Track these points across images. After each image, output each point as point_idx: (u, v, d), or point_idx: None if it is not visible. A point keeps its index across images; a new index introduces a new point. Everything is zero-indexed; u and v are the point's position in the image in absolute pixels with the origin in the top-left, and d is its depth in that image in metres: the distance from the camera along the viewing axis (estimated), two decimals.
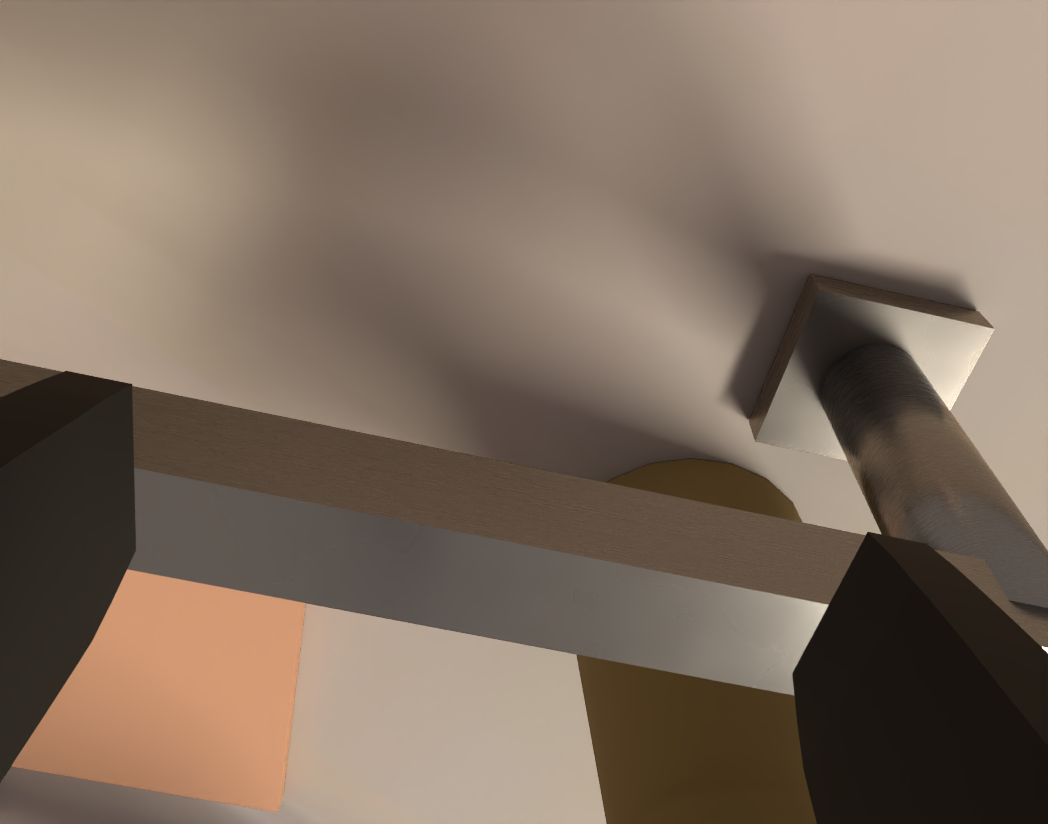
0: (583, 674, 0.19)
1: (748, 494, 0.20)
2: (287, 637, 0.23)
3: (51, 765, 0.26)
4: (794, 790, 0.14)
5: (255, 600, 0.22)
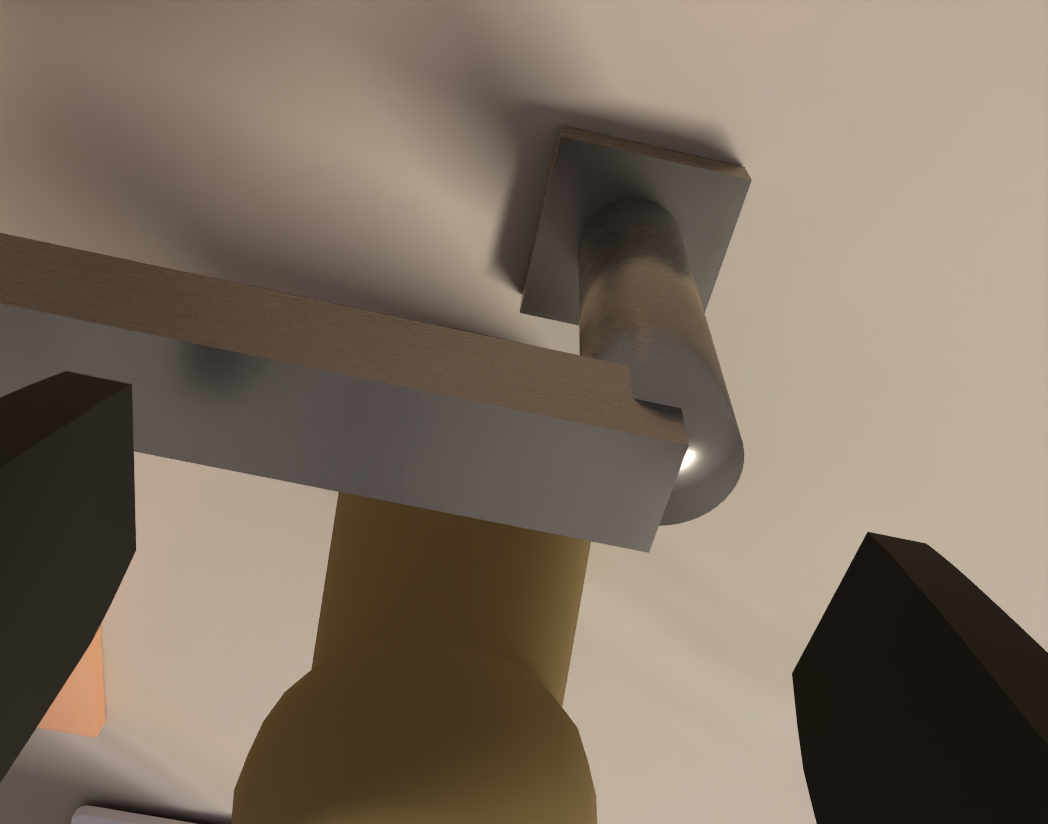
0: None
1: None
2: None
3: None
4: (478, 644, 0.13)
5: None
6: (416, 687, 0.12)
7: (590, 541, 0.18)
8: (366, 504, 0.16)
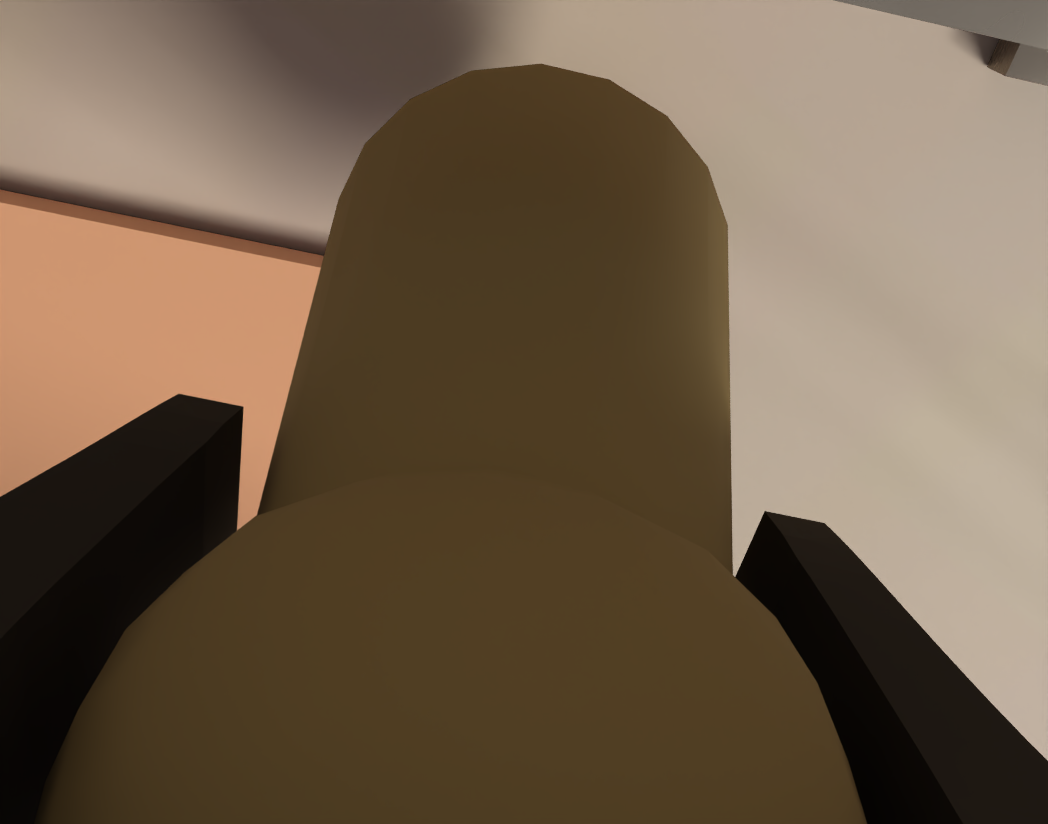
0: None
1: (629, 117, 0.12)
2: None
3: None
4: (611, 501, 0.06)
5: None
6: (508, 561, 0.05)
7: None
8: (372, 267, 0.09)
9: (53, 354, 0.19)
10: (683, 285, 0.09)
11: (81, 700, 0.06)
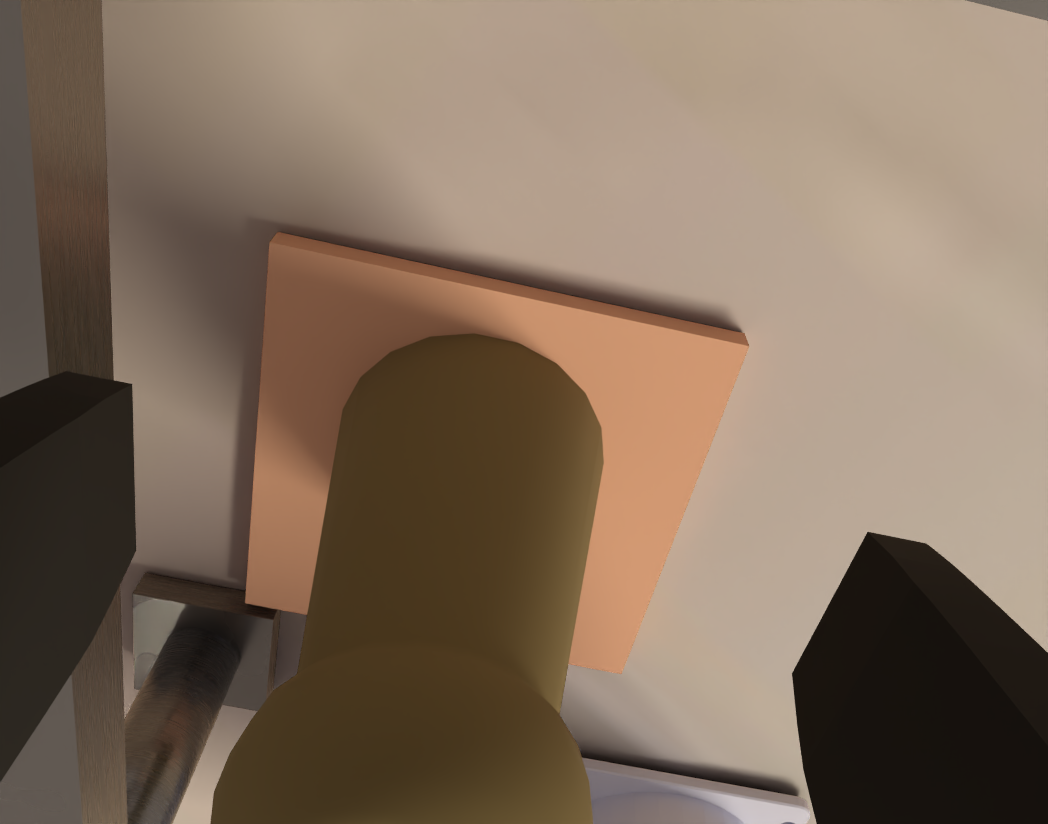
0: None
1: (529, 373, 0.18)
2: (700, 441, 0.20)
3: None
4: (481, 653, 0.13)
5: (676, 392, 0.19)
6: (422, 695, 0.11)
7: None
8: (364, 497, 0.15)
9: None
10: (548, 501, 0.16)
11: None
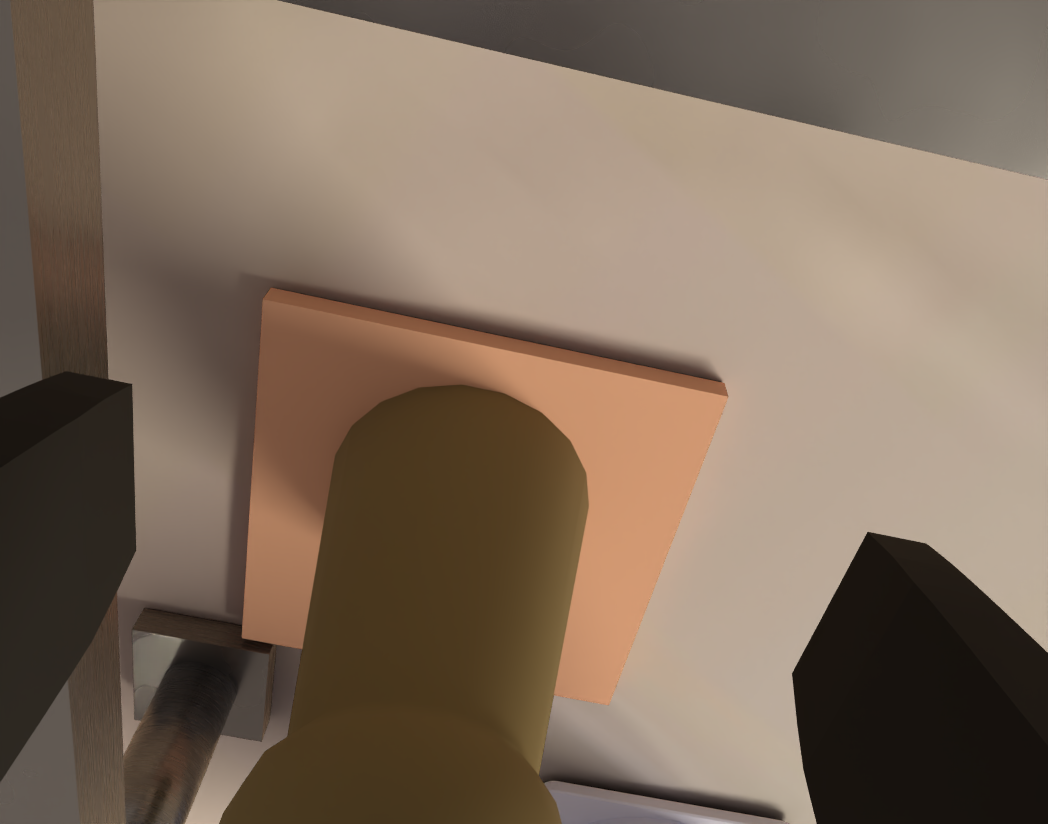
0: None
1: (514, 424, 0.19)
2: (681, 486, 0.20)
3: None
4: (464, 714, 0.13)
5: (658, 439, 0.20)
6: (404, 762, 0.12)
7: (571, 598, 0.18)
8: (354, 553, 0.16)
9: None
10: (531, 555, 0.16)
11: None
